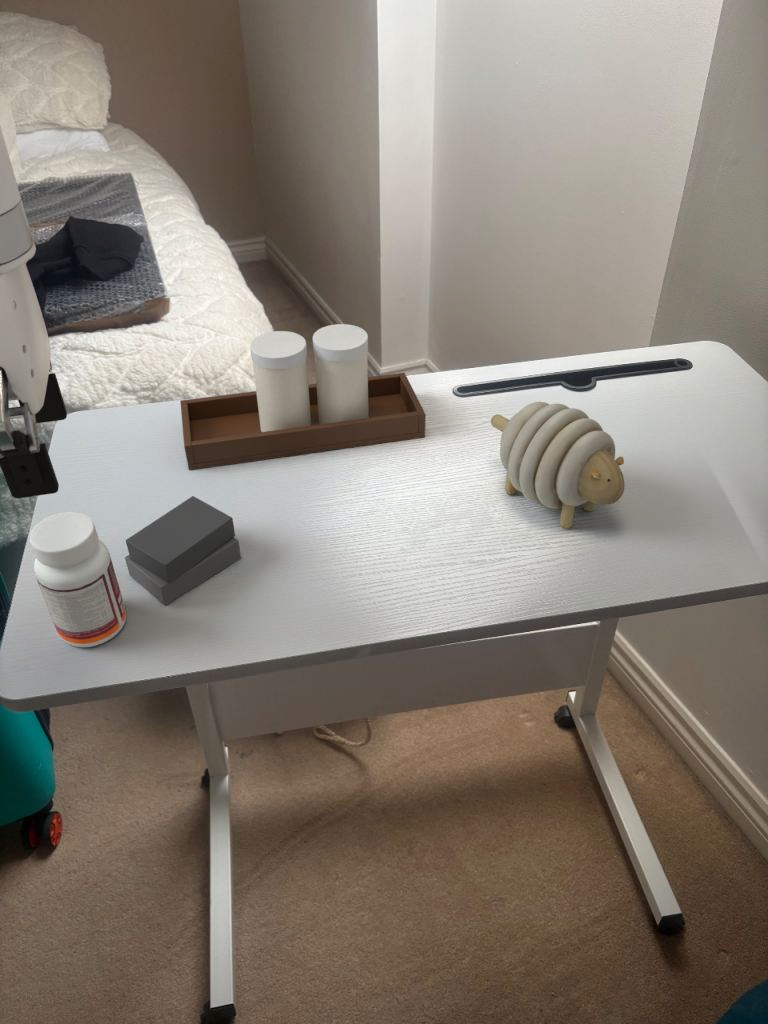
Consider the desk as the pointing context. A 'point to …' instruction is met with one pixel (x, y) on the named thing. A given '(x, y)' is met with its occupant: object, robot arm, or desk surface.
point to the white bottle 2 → (341, 373)
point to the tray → (238, 438)
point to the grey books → (182, 549)
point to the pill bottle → (77, 579)
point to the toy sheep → (559, 458)
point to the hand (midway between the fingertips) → (42, 454)
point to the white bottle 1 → (281, 380)
